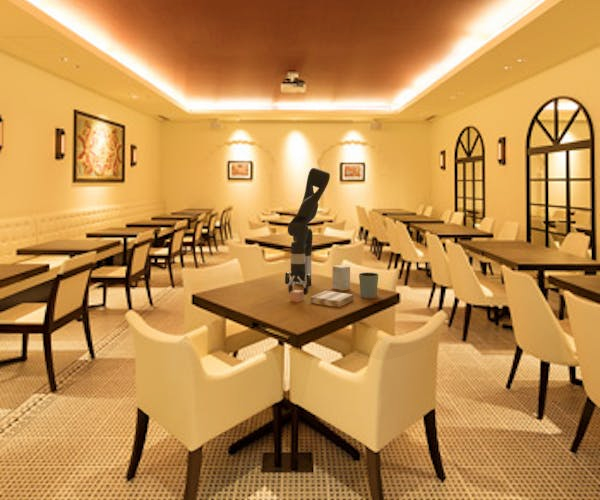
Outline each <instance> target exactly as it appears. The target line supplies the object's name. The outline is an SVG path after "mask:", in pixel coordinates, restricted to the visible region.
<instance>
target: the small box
mask: <svg viewBox="0 0 600 500" xmlns="http://www.w3.org/2000/svg"><path fill="white" fill-rule="evenodd" d="M350 288H351V266H348V265H343V264H338V265H337V264H336V265H332V289H334V290H339V291H348V290H351V289H350Z"/></svg>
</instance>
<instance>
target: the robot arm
mask: <svg viewBox="0 0 600 500" xmlns="http://www.w3.org/2000/svg"><path fill="white" fill-rule="evenodd" d="M330 179H331V174H330V172H328V171H326V170H323V169H319V168H316V167H311V168H310V170H309V172H308V175H307V178H306V183H305V184H306V185H305V191H304V194H303V198H302V200H301V201H302V202H301V205H300V206H299V209H298V211H297V213H296V214H295V216H293V218H292V219H291V221H290V222H289V223H288V226H287V233H288V235H289V236H290V237H291V236H292V240H293V241H292V242H291V244H290V271H287V272H285V275H284V276H285V277H284V278H285V279H284V284H285V285H287V286H288V293H289V294H290V291H293V284H296V285H299V286H303V291H304V296H305V295H307V294H308V292H309V287H311V286H312V252H313V251H312V250H313V230H312V228H311V227H309V225H308V224H309V223H310V222H312V220H313V219H314V218H315V217H316V215H317V212H318V209H319V201H320V199H321V198H322V196H323V194H324V192H325V191H326V188H327V186H328V184H329V183H330V182H329V181H330ZM314 187H315V188H318V189H317V190H316V191H314ZM290 278H291V279H290Z"/></svg>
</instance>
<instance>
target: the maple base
mask: <svg viewBox="0 0 600 500" xmlns="http://www.w3.org/2000/svg"><path fill="white" fill-rule="evenodd" d="M352 301H354V294H351V293H345V292H336V291H331V290H324V291H322V292H319V293H316V294H315V295H312V296H310V303H311V304H317V305H323V306H328V307H336V308H340V307H343V306H344V305H347V304H349V303H351V302H352Z"/></svg>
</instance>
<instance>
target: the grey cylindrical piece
mask: <svg viewBox="0 0 600 500" xmlns="http://www.w3.org/2000/svg"><path fill="white" fill-rule="evenodd" d="M358 281H359V292H360V294H359V295H360V297H361V298H364V299H376V298H377V296H378V295H377V294H378V286H379V285H378V283H379V282H378V281H379V274H378V273H376V272H361V273H359V274H358ZM375 297H376V298H375Z"/></svg>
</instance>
